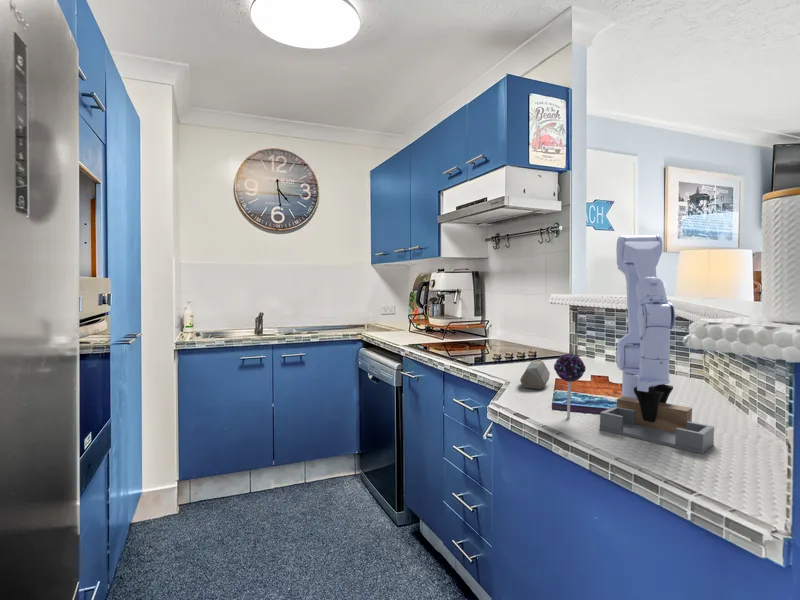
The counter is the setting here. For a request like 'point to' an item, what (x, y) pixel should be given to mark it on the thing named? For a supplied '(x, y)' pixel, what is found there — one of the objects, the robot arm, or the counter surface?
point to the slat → (659, 414)
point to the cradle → (658, 431)
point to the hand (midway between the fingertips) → (652, 418)
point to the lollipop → (569, 372)
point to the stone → (535, 375)
